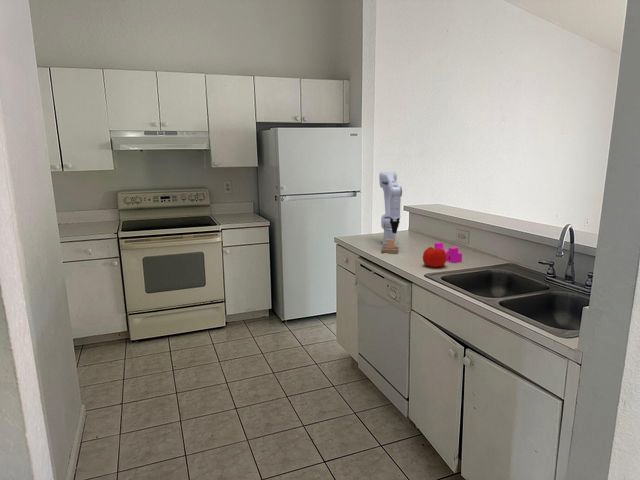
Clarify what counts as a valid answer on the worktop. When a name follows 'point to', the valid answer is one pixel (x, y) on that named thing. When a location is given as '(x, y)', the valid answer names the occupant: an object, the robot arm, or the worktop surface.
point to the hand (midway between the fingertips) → (394, 231)
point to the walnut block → (390, 250)
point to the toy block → (450, 253)
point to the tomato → (434, 257)
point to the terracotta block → (390, 243)
